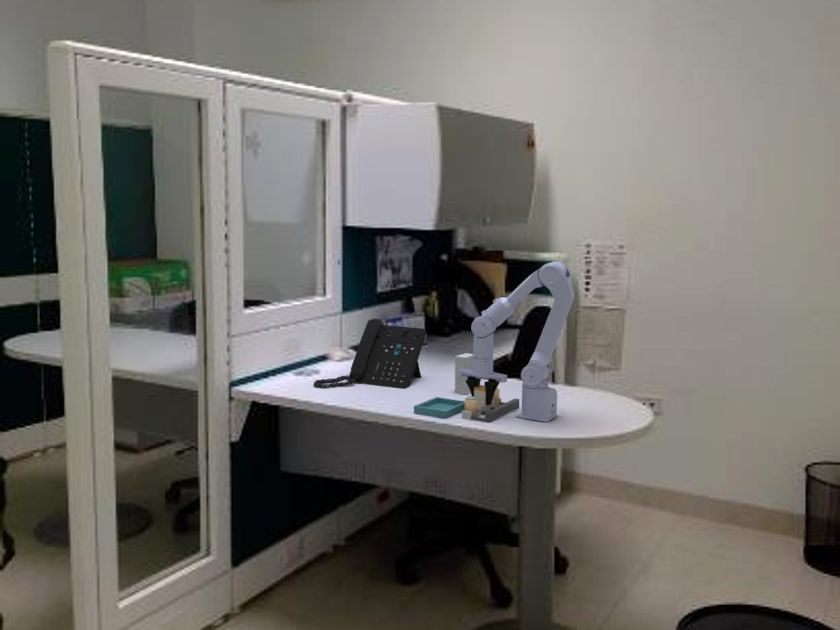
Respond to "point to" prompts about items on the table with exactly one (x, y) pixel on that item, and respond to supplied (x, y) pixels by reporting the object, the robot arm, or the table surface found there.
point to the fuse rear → (496, 397)
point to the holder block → (493, 411)
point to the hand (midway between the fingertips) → (482, 403)
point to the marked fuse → (481, 397)
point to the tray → (440, 407)
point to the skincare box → (460, 363)
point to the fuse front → (471, 405)
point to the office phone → (384, 357)
